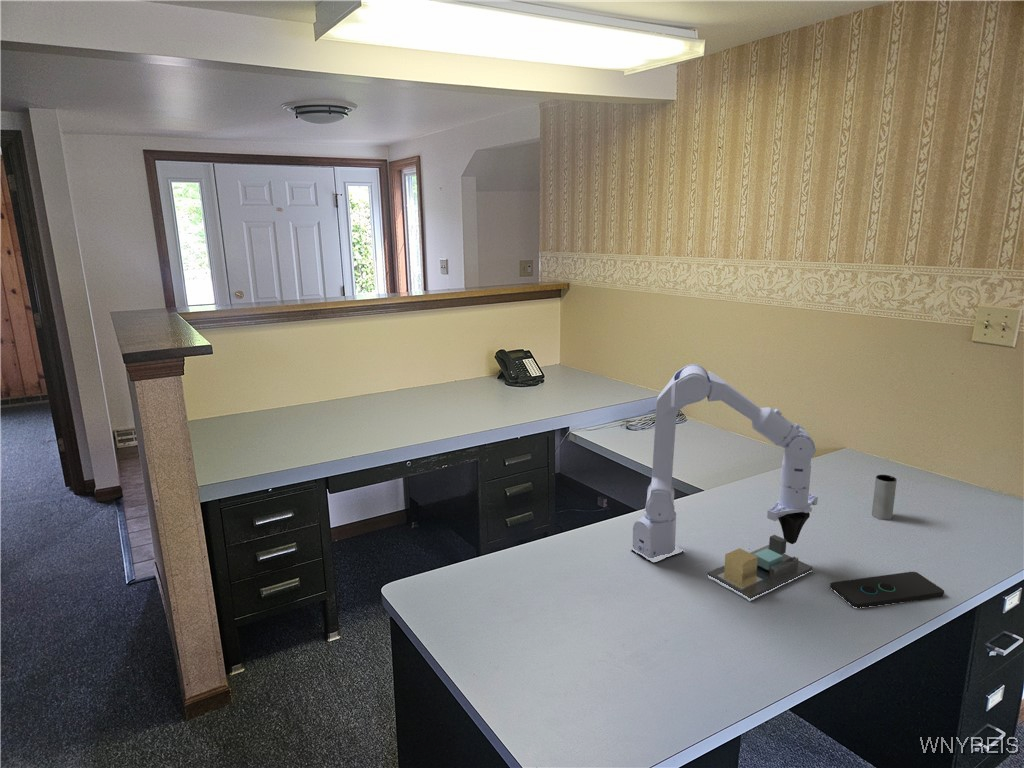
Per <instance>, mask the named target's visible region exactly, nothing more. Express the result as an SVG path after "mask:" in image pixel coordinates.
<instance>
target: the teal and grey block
mask: <svg viewBox="0 0 1024 768" xmlns="http://www.w3.org/2000/svg"><path fill="white" fill-rule="evenodd" d="M786 541H787V540H785V539H784V537H780V536H779V535H776V534H773V535H771V536H769V541H768V545H769V549H767V548H766V549H764V550H762V551H759V552H757V553H755V554H753V555H755V556H757V557H758V560H757V565H759V566H761V567H763V568H765V569H767V570H770V567H772V566H774V565H777V564H779V563H781V562H782V560H783V556H782V555H781V554H785V553H786V551H787V542H786Z"/></svg>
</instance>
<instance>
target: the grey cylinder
mask: <svg viewBox="0 0 1024 768" xmlns="http://www.w3.org/2000/svg"><path fill="white" fill-rule="evenodd" d="M896 490H897V478H896V477H894V476H892V475H888V474H877V475H876V476H875V481H874V491H873V499H872V508H871V509H872V510H871V516H872V517H874V518H876V519H879V520H886V521H887V520H891V519H893V515H894V505H895V496H896Z"/></svg>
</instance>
